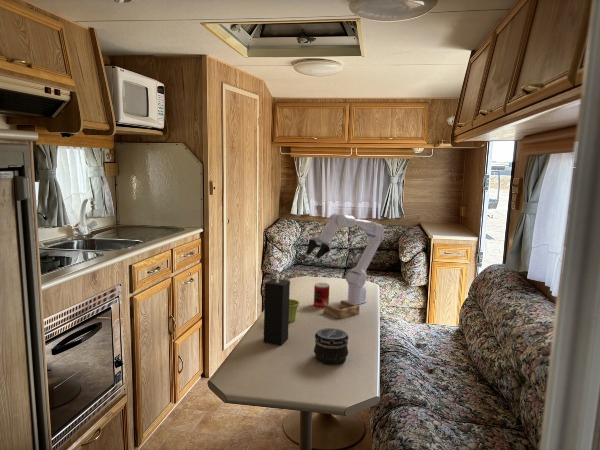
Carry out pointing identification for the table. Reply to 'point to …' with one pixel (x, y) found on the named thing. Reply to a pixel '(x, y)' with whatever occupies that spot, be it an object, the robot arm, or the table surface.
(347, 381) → the table surface
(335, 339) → the container
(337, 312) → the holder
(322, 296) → the canned food
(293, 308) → the plant pot
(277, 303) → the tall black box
